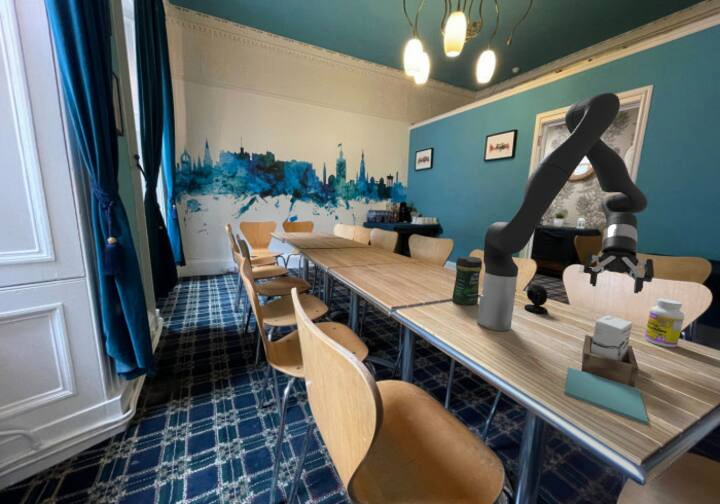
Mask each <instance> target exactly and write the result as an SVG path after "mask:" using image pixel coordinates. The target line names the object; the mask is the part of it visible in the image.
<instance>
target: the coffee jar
mask: <svg viewBox="0 0 720 504" xmlns="http://www.w3.org/2000/svg"><path fill="white" fill-rule="evenodd" d="M455 268H456V270H455V271H456V274H455V281H454V286H453V291H452V298H451V299H452V301H453V302H454V303H456V304H461V305H463V306H467V305H475V304H478V302H479V289H480V288H479V287H480V286H479V285H480V274H481V272H482V268H483V260H482V258H480V257H476V256H459V257H458V258H456V262H455Z"/></svg>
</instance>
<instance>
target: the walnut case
mask: <svg viewBox="0 0 720 504" xmlns="http://www.w3.org/2000/svg"><path fill="white" fill-rule="evenodd" d="M583 341H584V342H583V347H582V358H581V371H583V372H586V373H589V374H592V375H595V376H599V377H602V378H605V379H608V380H611V381H614V382H618V383H621V384H624V385H627V386H630V387H634V388H636V387H635V386H636V382H637V377H638V372H639V365H638V362H637V359H636V355H635V352H634V349H633V346H632V345H629V344H628V347H627V353H626V357H625V363H624V362H621V361H617V360H613V359H610V358H606V357H603V356H599V355H595V354H592V353H590V352H591V347H592V341H593V336H592V335H589V334H585V336H584V340H583Z"/></svg>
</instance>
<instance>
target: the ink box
mask: <svg viewBox="0 0 720 504" xmlns="http://www.w3.org/2000/svg"><path fill="white" fill-rule="evenodd" d="M632 327H633V322H632V321H628V320H625V319H622V318H618V317H616V316H613V315H605V316H602V317H601V318H599V319H597V320H596V321H595V324H594V330H593V341H592V347H591V352H590V353H592V354H595V355H599V356H603V357H606V358H610V359H613V360H617V361H621V362H624V363H625V357H626V353H627V347H628V345H629V342H630V336H631V332H632Z"/></svg>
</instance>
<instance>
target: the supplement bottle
mask: <svg viewBox="0 0 720 504" xmlns="http://www.w3.org/2000/svg"><path fill="white" fill-rule="evenodd" d="M656 303H657V305H656V306H652V307H651V308H650V311H649V315H648V320H647V324H646V328H645V333H644V339H645V340H646V341H647V342H650V343H652V344H654V345H657V346H660V347H664V348H665V347H666V348H676V347H677V346H678V344H679V339H680V336H681V331H682V327H683V324H684V321H685V313H684V312H682V311H680V309H681V308H682V305H683V304H682V302H681V301H677V300H674V299H668V298H661V297H660V298H657V301H656Z"/></svg>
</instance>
